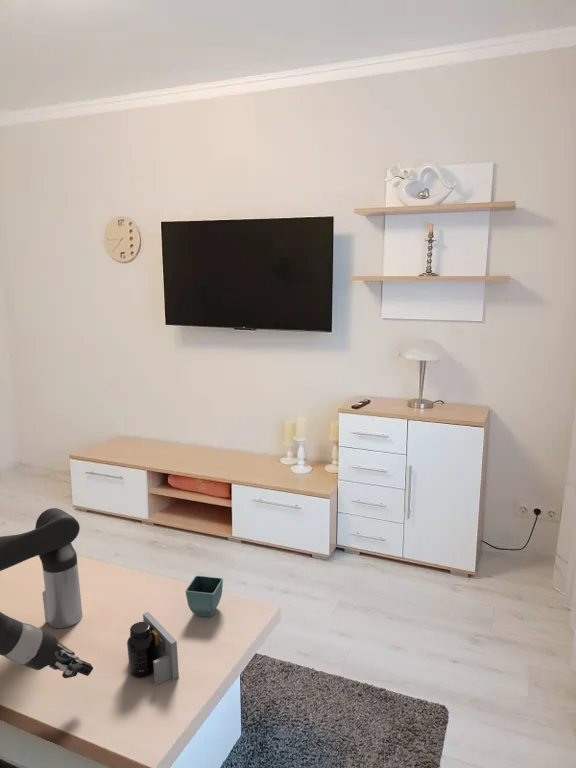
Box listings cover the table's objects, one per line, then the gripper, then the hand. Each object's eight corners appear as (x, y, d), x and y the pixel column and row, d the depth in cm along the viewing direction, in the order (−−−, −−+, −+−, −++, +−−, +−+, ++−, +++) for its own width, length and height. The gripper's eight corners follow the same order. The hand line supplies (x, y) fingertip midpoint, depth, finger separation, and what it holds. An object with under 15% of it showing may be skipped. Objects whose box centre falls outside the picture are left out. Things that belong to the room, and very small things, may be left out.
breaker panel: (158, 687, 137) (155, 650, 135) (131, 654, 149) (128, 619, 147) (178, 677, 140) (176, 641, 138) (150, 645, 152) (148, 611, 150)
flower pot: (215, 622, 162) (213, 593, 160) (186, 619, 164) (184, 590, 162) (224, 605, 170) (223, 577, 169) (196, 602, 172) (195, 575, 171)
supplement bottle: (132, 661, 146) (129, 619, 144) (159, 659, 147) (156, 618, 144) (126, 679, 139) (123, 636, 137) (154, 678, 140) (151, 634, 137)
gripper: (10, 646, 127) (70, 670, 137) (24, 678, 117) (89, 701, 127) (32, 615, 130) (90, 641, 139) (49, 644, 119) (110, 670, 129)
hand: (89, 670), depth 133 cm, fingers closed
